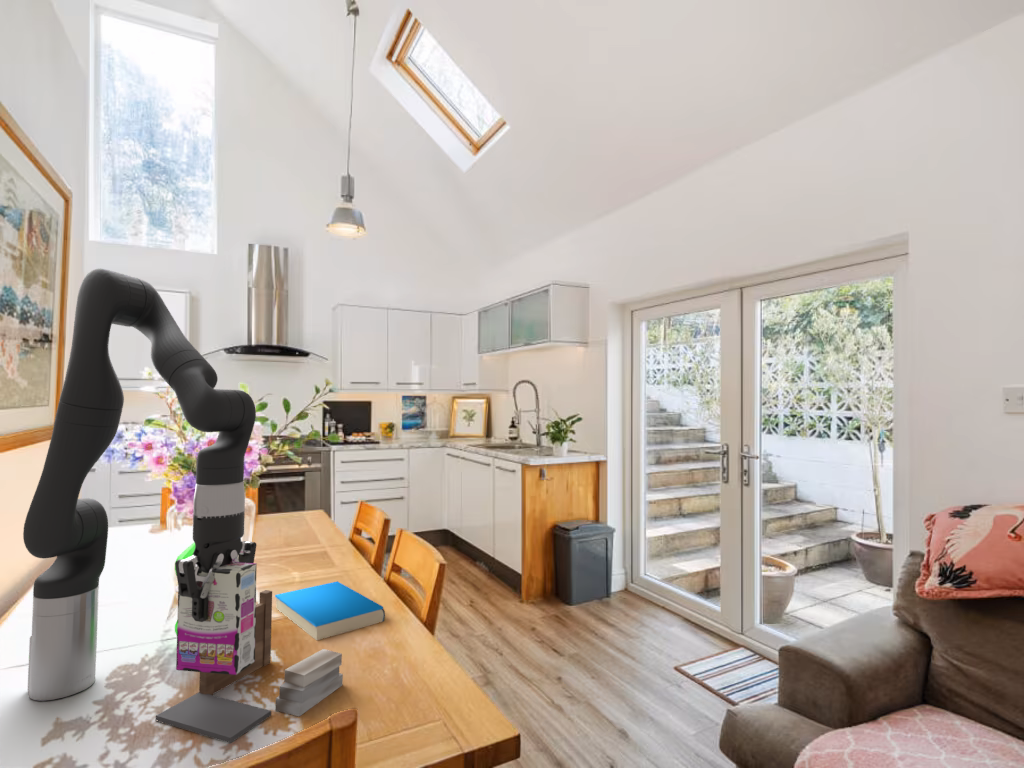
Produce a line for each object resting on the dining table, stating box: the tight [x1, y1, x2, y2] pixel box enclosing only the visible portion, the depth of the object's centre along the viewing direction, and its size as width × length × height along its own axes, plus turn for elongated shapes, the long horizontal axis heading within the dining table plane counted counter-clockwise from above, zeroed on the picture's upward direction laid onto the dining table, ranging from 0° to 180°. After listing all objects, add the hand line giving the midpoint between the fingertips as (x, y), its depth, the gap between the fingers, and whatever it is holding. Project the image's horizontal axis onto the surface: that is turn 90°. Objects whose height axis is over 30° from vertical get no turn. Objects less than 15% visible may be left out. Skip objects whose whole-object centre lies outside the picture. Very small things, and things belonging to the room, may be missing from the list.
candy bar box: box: [175, 562, 258, 675], centre depth 90 cm, size 11×5×16 cm, turn 81°
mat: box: [155, 691, 272, 744], centre depth 90 cm, size 16×8×1 cm, turn 69°
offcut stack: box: [275, 648, 344, 717], centre depth 96 cm, size 5×11×6 cm, turn 159°
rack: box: [198, 589, 273, 696], centre depth 103 cm, size 2×15×14 cm, turn 159°
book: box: [274, 581, 386, 641], centre depth 134 cm, size 17×4×25 cm
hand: (216, 613), depth 90 cm, fingers closed on candy bar box, 5 cm apart
